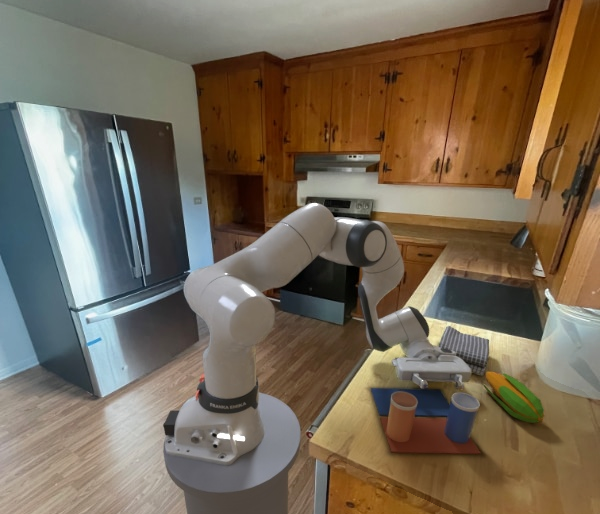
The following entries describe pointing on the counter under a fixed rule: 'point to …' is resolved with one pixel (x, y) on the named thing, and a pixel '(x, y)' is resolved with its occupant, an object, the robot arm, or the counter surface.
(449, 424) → the blue canister
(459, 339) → the towel
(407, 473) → the counter surface
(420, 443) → the terracotta mat
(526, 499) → the counter surface
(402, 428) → the terracotta canister
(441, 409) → the blue mat
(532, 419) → the corn
